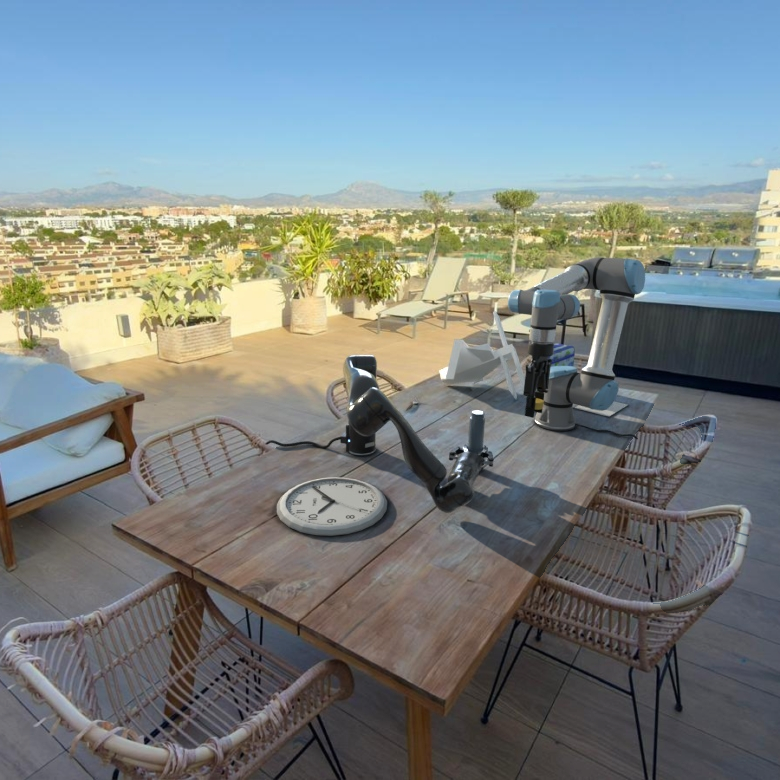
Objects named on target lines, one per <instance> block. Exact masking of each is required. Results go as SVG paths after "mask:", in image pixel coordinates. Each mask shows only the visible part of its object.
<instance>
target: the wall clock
mask: <svg viewBox="0 0 780 780" xmlns="http://www.w3.org/2000/svg"><path fill="white" fill-rule="evenodd" d="M387 509H388V500H387V498H386V496H385V494H384V493H383V492H382V491H381V490H380V489H379V488H377V487H376V486H374V485H372V484H371V483H369V482H365V481H362V480H359V479H355V478H349V477H338V476H337V477H335V476H333V477H332V476H331V477H322V478H317V479H312V480H307V481H305V482H302V483H299V484H297V485H295V486H293V487H292V488H290V489H288V490H287V491H286V492H285V493H284V494H283V495H281V496H280V498H279V499H278V502H277V503H276V515H277V517H278V518H279V520H280V521H281V522H282V523H283V524H285V525H286V526H287V527H288V528H290V529H293V530H295V531H297V532H299V533H303V534H308V535H312V536H327V537H328V536H329V537H331V536H332V537H333V536H342V535H350V534H352V533H356V532H361V531H363V530H366V529H368V528H369V527H372V526H373V525H375V524H376V523H378V522H379V521H380V520H381V519H382V518H383V517H384V516H385V514H386V512H387Z"/></svg>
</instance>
